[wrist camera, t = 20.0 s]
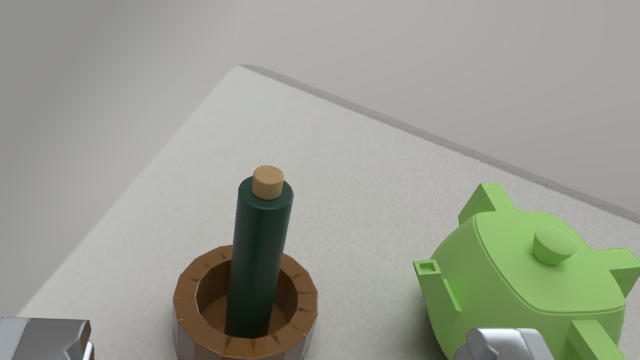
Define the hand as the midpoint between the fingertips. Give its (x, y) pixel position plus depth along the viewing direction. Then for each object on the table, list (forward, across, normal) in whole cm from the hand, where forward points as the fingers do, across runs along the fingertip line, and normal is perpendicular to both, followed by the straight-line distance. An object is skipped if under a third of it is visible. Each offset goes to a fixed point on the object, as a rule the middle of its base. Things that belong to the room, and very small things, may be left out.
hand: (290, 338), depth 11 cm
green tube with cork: (+12, -1, +17) cm, 20 cm away
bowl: (+12, 0, +17) cm, 21 cm away
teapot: (+11, -16, +17) cm, 26 cm away
